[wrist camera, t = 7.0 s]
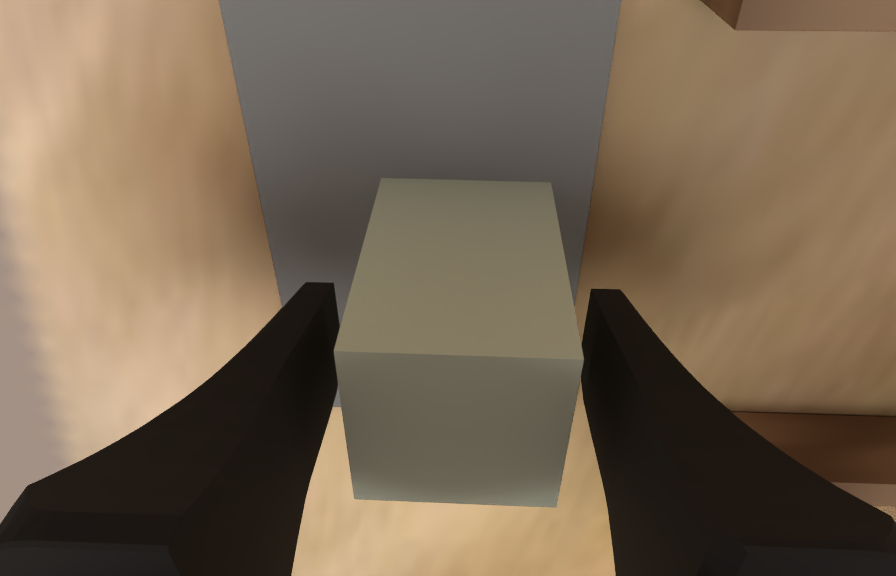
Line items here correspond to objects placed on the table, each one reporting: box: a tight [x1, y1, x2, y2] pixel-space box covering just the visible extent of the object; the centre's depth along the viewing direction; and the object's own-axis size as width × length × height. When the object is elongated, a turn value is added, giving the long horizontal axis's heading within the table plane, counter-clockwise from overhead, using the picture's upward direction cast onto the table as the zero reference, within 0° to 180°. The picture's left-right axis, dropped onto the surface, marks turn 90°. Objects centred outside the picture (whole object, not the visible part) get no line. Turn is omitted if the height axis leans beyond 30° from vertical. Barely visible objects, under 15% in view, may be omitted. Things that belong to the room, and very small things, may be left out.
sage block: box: [334, 178, 584, 508], centre depth 14 cm, size 4×4×6 cm
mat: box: [219, 0, 621, 407], centre depth 16 cm, size 8×12×1 cm, turn 0°
